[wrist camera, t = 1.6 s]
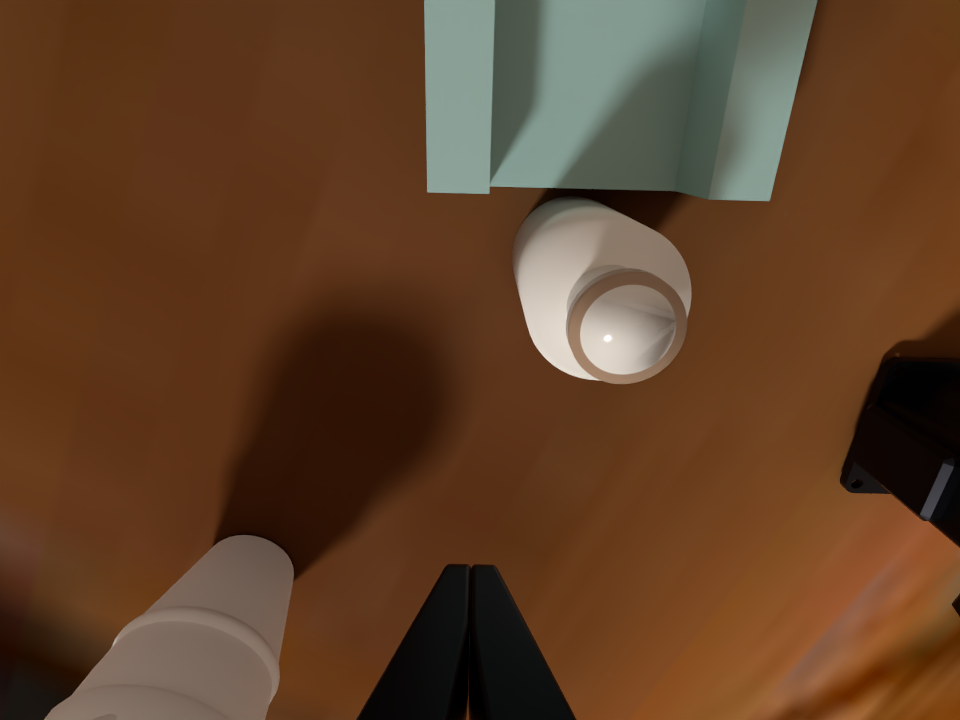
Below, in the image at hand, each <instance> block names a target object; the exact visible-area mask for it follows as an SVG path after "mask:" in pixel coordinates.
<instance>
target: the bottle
mask: <svg viewBox="0 0 960 720" xmlns="http://www.w3.org/2000/svg"><path fill="white" fill-rule="evenodd" d="M512 267H513V272H514V276H515V280H516V284H517V288H518V291H519V295H520V299H521V303H522V307H523V311H524V315H525V319H526V322H527V326H528V329H529V333H530V335H531V338H532V340H533V342H534V344H535V345H536V347H537V348H538V350H539V351H540V353H541V354H542V355H543V356H544V357H545V358H546V359H547V360H548V361H549V362H550V363H551V364H552V365H554V366H555V367H557V368H558V369H560V370H562V371H564V372H566V373H568V374H570V375H573V376H576V377H579V378H584V379H589V380H602V381H604V382H608V383H614V384H629V383H635V382H639V381H642V380H645V379H648V378H650V377H652V376H654V375H656V374H657V373H659V372H660V371H661V370H663V369H664V368H665V367H666V366H667V365H669V363H670V362H671V361H672V360H673V359H674V358H675V356H676V355H677V354H678V352H679V350H680V348H681V347H682V344H683V342H684V339H685V335H686V330H687V317H688V313H689V309H690V304H691V282H690V276H689V273H688V270H687V266H686V264H685V262H684V260H683V258H682V256H681V255H680V253H679V252H678V250H677V249H676V248H675V247H674V246H673V244H672V243H671V242H670V241H669V240H667V239H666V238H665V237H664V236H662V235H661V234H660V233H658V232H656V231H654V230H653V229H651V228H649V227H647V226H645V225H643V224H641V223H639V222H637V221H635V220H633V219H631V218H629V217H627V216H625V215H623V214H621V213H619V212H617V211H615V210H613V209H611V208H609V207H607V206H605V205H603V204H601V203H599V202H597V201H595V200H592V199H590V198H586V197H581V196H565V197H559V198H556V199H553V200H550V201H548V202H546V203H544V204H542V205H541V206H539V207H538V208H536V209H535V210H534V211H533V212H531V213H530V214H529V216H528V217H527V218H526V219H525V220H524V222H523V223H522V224H521V226H520V228H519V230H518V231H517V234H516V236H515V239H514V242H513V246H512Z"/></svg>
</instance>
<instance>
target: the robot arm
mask: <svg viewBox="0 0 960 720" xmlns="http://www.w3.org/2000/svg"><path fill="white" fill-rule="evenodd" d="M898 367H899V369H898V370H897V372H895V373H894V371H895V369H897V368H898ZM853 481H854V482H853ZM852 482H853V483H852ZM840 483H841V485H842V486H843V487H844V488H845V489H846V490H847V491H849V492H851V493H878V494H892V495H893V496H894V497H895V498H896V499H898V500H899V501H900V502H901V503H902V504H904V505H905V506H906V507H907V508H908V509H909V510H911V511H912V512H913V513H914V514H915V515H916V516H918V517H919V518H920V519H921V520H923V521H929V522H930V523H931V524H932V525H933V526H935V527H936V528H937V529H938V530H939V531H940V532H942V533H943V534H944V535H945V536H946V537H948V538H949V539H950V540H951V541H952V542H953V543H955V544H956V545H957V546H958V547H959V548H960V359H952V358H908V357H895V358H891V359H889V360H887V361H886V362H885V363H883V365H882V366H881V368H880V371H879V374H878V376H877V379H876V382H875V385H874V387H873V390H872V393H871V396H870V398H869V401H868V404H867V407H866V409H865V412H864V415H863V417H862V420H861V423H860V426H859V428H858V431H857V434H856V437H855V439H854V442H853V445H852V448H851V450H850V453H849V456H848V458H847V461H846V464H845V467H844V469H843V472H842V475H841V478H840ZM470 590H471V601H470ZM952 606H953V607H954V609H955V610H956V612H957V613H958V615H959V616H960V594H959V596H958V597H957V598H956V599H955V600H954V602H953V603H952ZM469 635H470V646H469ZM468 679H469V720H576V718H575V716H574V714H573V712H572V710H571V708H570V706H569V704H568V702H567V701H566V699H565V697H564V695H563V693H562V691H561V689H560V687H559V685H558V683H557V681H556V680H555V678H554V676H553V674H552V672H551V670H550V668H549V666H548V664H547V662H546V660H545V658H544V657H543V655H542V653H541V651H540V649H539V647H538V645H537V643H536V641H535V639H534V637H533V636H532V634H531V632H530V630H529V628H528V626H527V624H526V622H525V620H524V618H523V616H522V615H521V613H520V611H519V609H518V607H517V605H516V603H515V601H514V599H513V597H512V595H511V594H510V592H509V590H508V588H507V586H506V584H505V582H504V580H503V578H502V576H501V574H500V573H499V571H498V569H497V567H496V566H494V565H481V564H475V565H473V566H472V568H471V567H470V566H469V565H468V564H448V565H447V566H446V567H445V568H444V570H443V571H442V573H441V575H440V577H439V578H438V580H437V582H436V583H435V585H434V587H433V589H432V590H431V592H430V594H429V595H428V597H427V599H426V601H425V602H424V604H423V606H422V607H421V609H420V611H419V613H418V614H417V616H416V618H415V619H414V621H413V623H412V625H411V626H410V628H409V630H408V631H407V633H406V635H405V637H404V638H403V640H402V642H401V643H400V645H399V647H398V649H397V650H396V652H395V654H394V656H393V657H392V659H391V661H390V662H389V664H388V666H387V668H386V669H385V671H384V673H383V674H382V676H381V678H380V680H379V681H378V683H377V685H376V686H375V688H374V690H373V692H372V693H371V695H370V697H369V698H368V700H367V702H366V704H365V705H364V707H363V709H362V710H361V712H360V714H359V716H358V717H357V719H356V720H466V717H467V706H468Z"/></svg>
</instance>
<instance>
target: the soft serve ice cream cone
mask: <svg viewBox="0 0 960 720" xmlns="http://www.w3.org/2000/svg"><path fill="white" fill-rule="evenodd" d="M293 578H294V569H293V565H292V562H291V560H290V558H289V557H288V555H287V554H286V553H285V552H284V550H283V549H281V548H280V547H279V546H278V545H276V544H274V543H273V542H271V541H269V540H267V539H264V538H261V537H257V536H252V535H236V536H232V537H228V538H226V539H224V540H222V541H220V542H218V543H217V544H216V545H214V546H213V547H212V548H211V549H210V550H209V551H208V552H207V553H206V554H205V555H204V556H203V557H202V558H201V559H200V560H199V561H198V562H197V563H196V564H195V565H194V566H193V567H192V568H191V569H190V570H189V571H188V572H187V573H185V574H184V575H183V576H182V577H181V578H180V579H179V580H178V581H177V582H176V583H175V584H174V585H173V586H172V587H171V588H170V589H169V590H168V591H167V592H166V593H165V594H164V595H163V596H162V597H161V598H160V599H159V600H158V601H157V602H156V603H154V604H153V605H152V606H151V607H150V608H149V609H148V610H147V611H146V612H145V613H144V614H143V615H141V616H139V617H137V618H136V619H134V620H133V621H132V622H130V623H129V624H128V625H126V626H125V627H124V628H123V629H122V631H121V632H120V633H119V634H118V636H117V637H116V639H115V641H114V643H113V646H112V648H111V649H110V650H109V652H108V653H107V654H106V655H105V656H104V657H103V658H102V659H101V661H100V662H99V663H98V664H97V665H96V666H95V667H94V668H93V670H92V671H91V672H90V673H89V675H88V676H87V677H86V678H85V680H84V681H83V682H82V683H81V684H80V686H79V687H78V688H77V689H76V691H75V692H74V693H73V694H72V696H70V697H69V698H67V699H66V700H64V701H63V702H61V703H60V704H59V705H57V706H56V707H54V708H53V709H52V710H51V712H50V713H49V714H48V715H47V717H46V718H45V719H44V720H265V717H266V714H267V710H268V706H269V703H270V702H271V700H272V698H273V697H274V695H275V693H276V691H277V688H278V684H279V680H280V673H279V664H278V663H279V657H280V652H281V646H282V640H283V635H284V629H285V623H286V618H287V612H288V607H289V601H290V595H291V590H292V584H293Z"/></svg>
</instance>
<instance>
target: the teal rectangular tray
mask: <svg viewBox="0 0 960 720" xmlns="http://www.w3.org/2000/svg"><path fill="white" fill-rule="evenodd" d="M816 4H817V0H424V10H425V74H426V138H427V192H435V193H474V194H489V186H497V187H536V188H575V189H614V190H653V191H676V192H680V193H684V194H688V195H692V196H696V197H700V198H704V199H710V200H749V201H770V197H771V193H772V189H773V185H774V180H775V176H776V172H777V168H778V164H779V159H780V155H781V151H782V147H783V143H784V138H785V134H786V130H787V126H788V122H789V117H790V113H791V109H792V105H793V101H794V96H795V92H796V88H797V84H798V80H799V75H800V71H801V67H802V63H803V59H804V54H805V50H806V46H807V42H808V38H809V33H810V29H811V25H812V21H813V17H814V12H815V8H816Z"/></svg>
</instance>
